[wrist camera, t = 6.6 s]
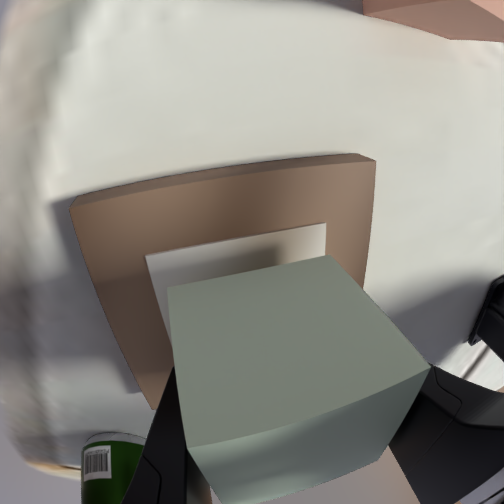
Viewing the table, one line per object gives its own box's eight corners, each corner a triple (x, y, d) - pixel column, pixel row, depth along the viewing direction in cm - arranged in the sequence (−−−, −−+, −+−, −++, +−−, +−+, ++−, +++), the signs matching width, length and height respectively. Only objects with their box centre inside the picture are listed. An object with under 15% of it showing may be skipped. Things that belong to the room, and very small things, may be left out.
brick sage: (320, 360, 12) (377, 460, 8) (198, 391, 11) (226, 510, 7) (329, 254, 10) (431, 366, 6) (166, 287, 9) (186, 447, 5)
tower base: (357, 153, 11) (377, 161, 10) (339, 345, 16) (350, 362, 15) (77, 196, 9) (67, 209, 8) (150, 390, 14) (152, 411, 13)
